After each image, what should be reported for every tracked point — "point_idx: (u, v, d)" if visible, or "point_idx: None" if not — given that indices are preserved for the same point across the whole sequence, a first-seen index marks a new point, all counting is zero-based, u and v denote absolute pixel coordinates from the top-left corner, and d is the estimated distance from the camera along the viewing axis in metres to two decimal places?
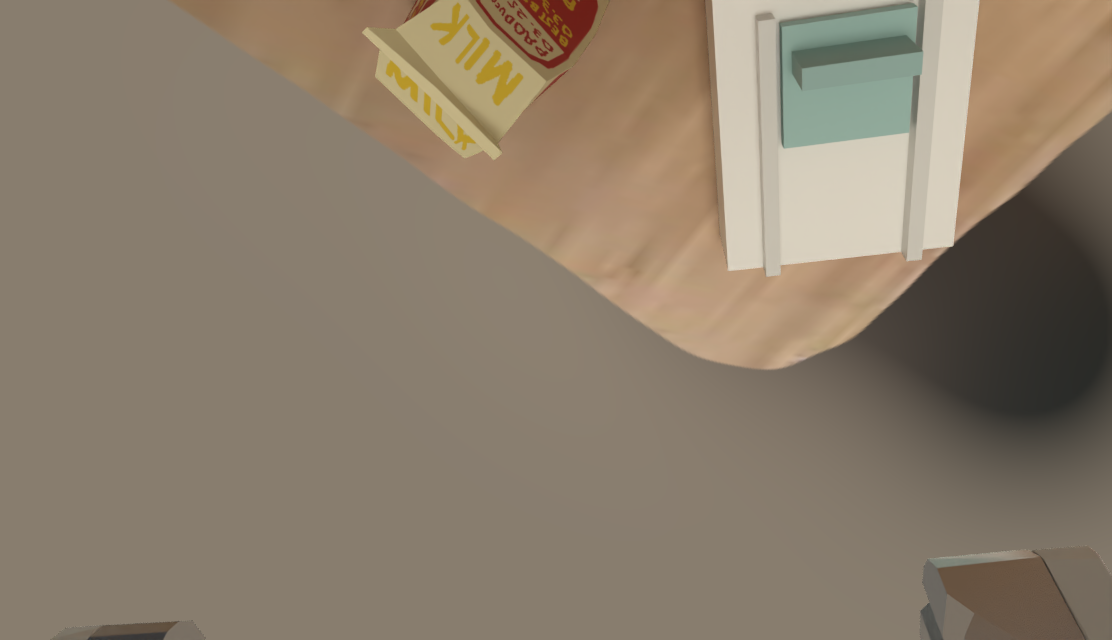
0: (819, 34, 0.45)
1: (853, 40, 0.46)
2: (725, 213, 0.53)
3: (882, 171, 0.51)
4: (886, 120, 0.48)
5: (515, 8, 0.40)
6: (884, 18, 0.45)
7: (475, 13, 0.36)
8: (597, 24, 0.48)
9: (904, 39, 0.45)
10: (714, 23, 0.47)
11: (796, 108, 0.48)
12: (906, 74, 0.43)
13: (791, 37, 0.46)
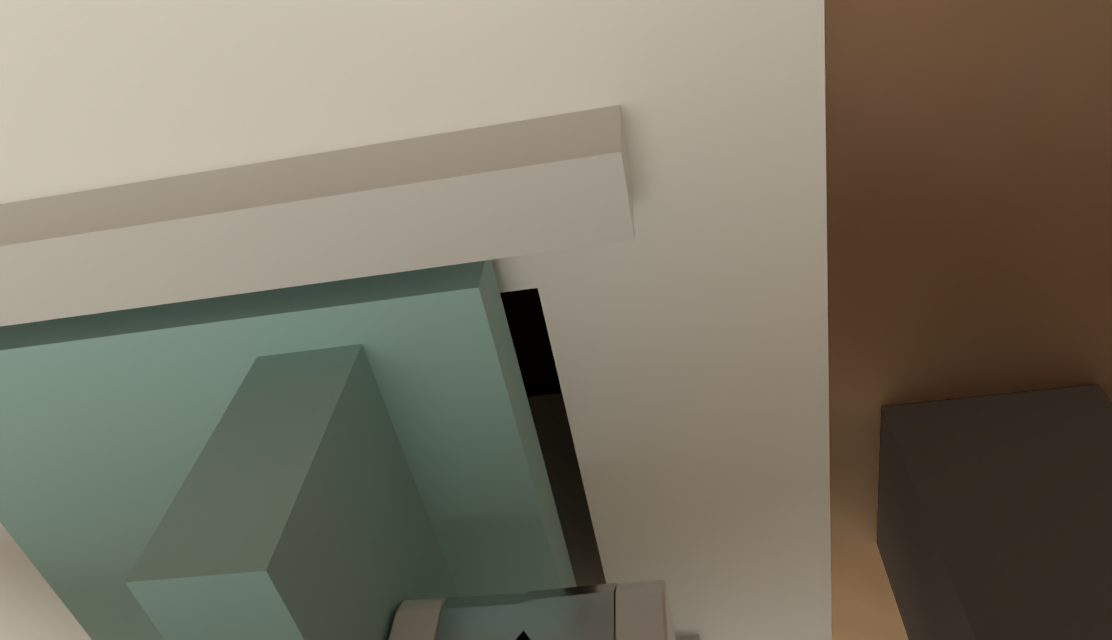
0: (458, 438, 0.10)
1: (449, 551, 0.11)
2: None
3: (64, 622, 0.14)
4: None
5: None
6: None
7: None
8: None
9: None
10: None
11: (95, 394, 0.10)
12: None
13: (430, 335, 0.09)
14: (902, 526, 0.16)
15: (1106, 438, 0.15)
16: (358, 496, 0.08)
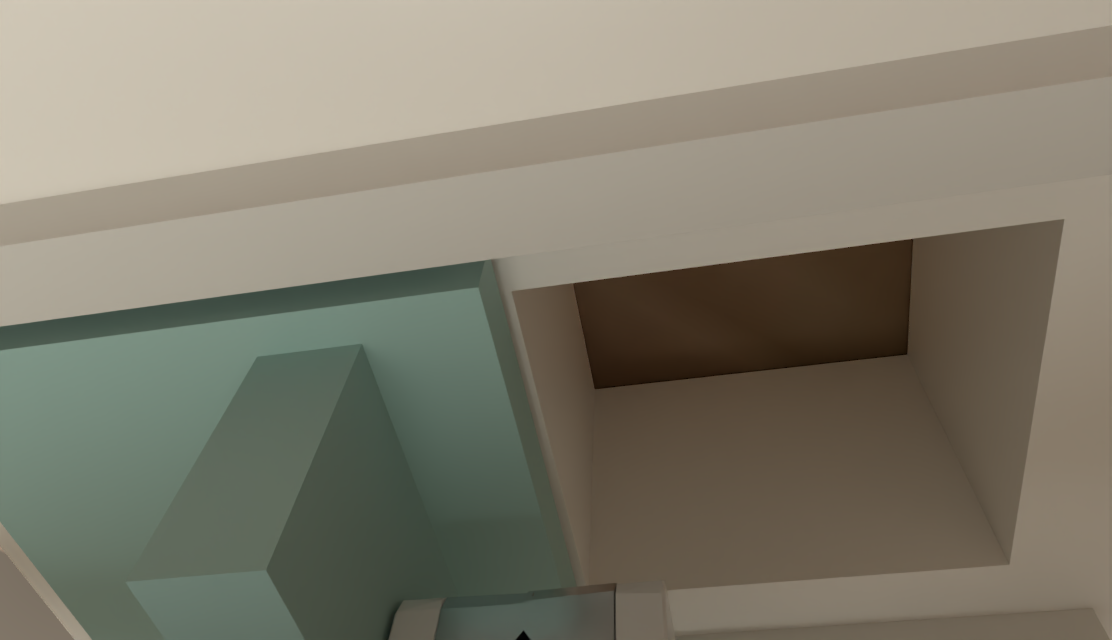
0: (458, 438, 0.10)
1: (449, 551, 0.11)
2: None
3: None
4: None
5: None
6: None
7: None
8: None
9: None
10: None
11: (95, 394, 0.10)
12: None
13: (430, 335, 0.09)
14: None
15: None
16: (358, 496, 0.08)
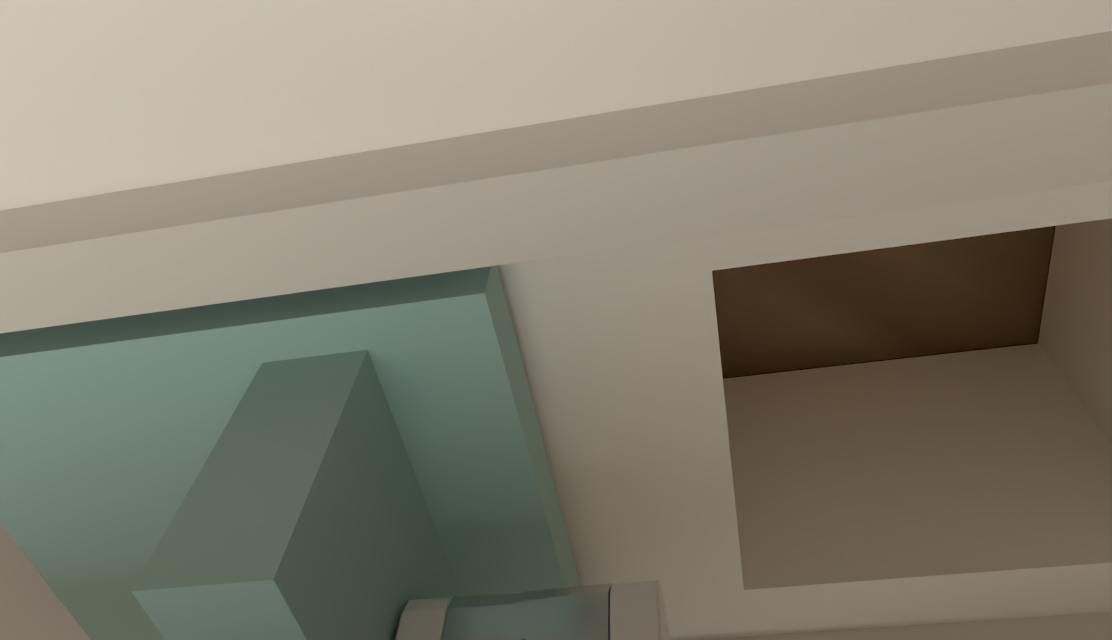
0: (464, 444, 0.10)
1: (454, 556, 0.11)
2: None
3: None
4: None
5: None
6: None
7: None
8: None
9: None
10: None
11: (99, 400, 0.10)
12: None
13: (435, 340, 0.09)
14: None
15: None
16: (364, 503, 0.08)
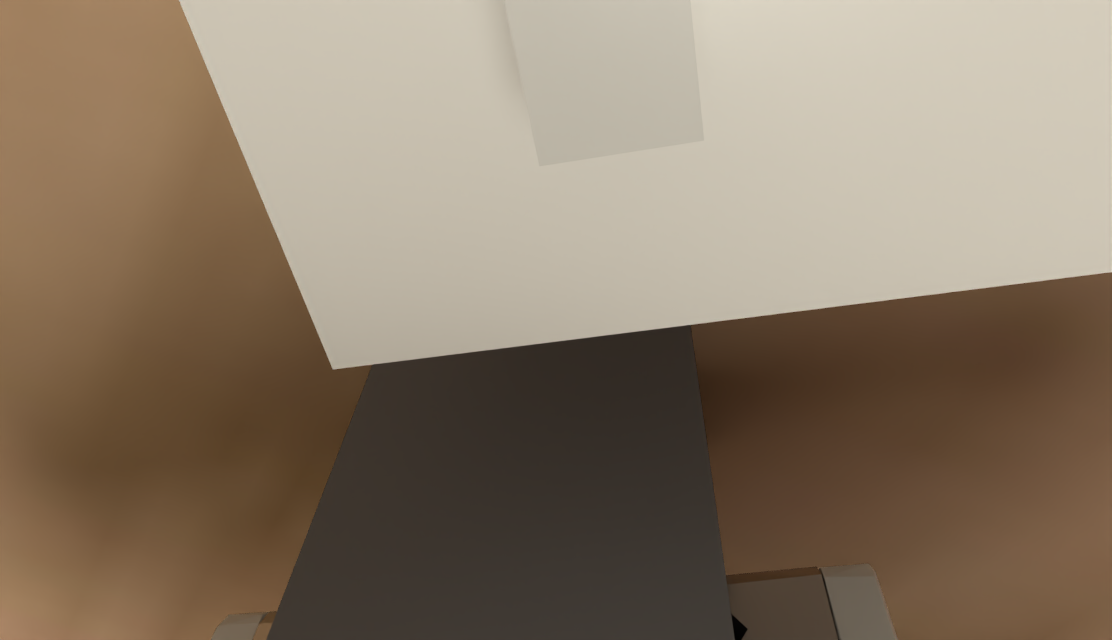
0: None
1: None
2: None
3: None
4: None
5: None
6: None
7: None
8: None
9: None
10: None
11: None
12: None
13: None
14: None
15: None
16: None
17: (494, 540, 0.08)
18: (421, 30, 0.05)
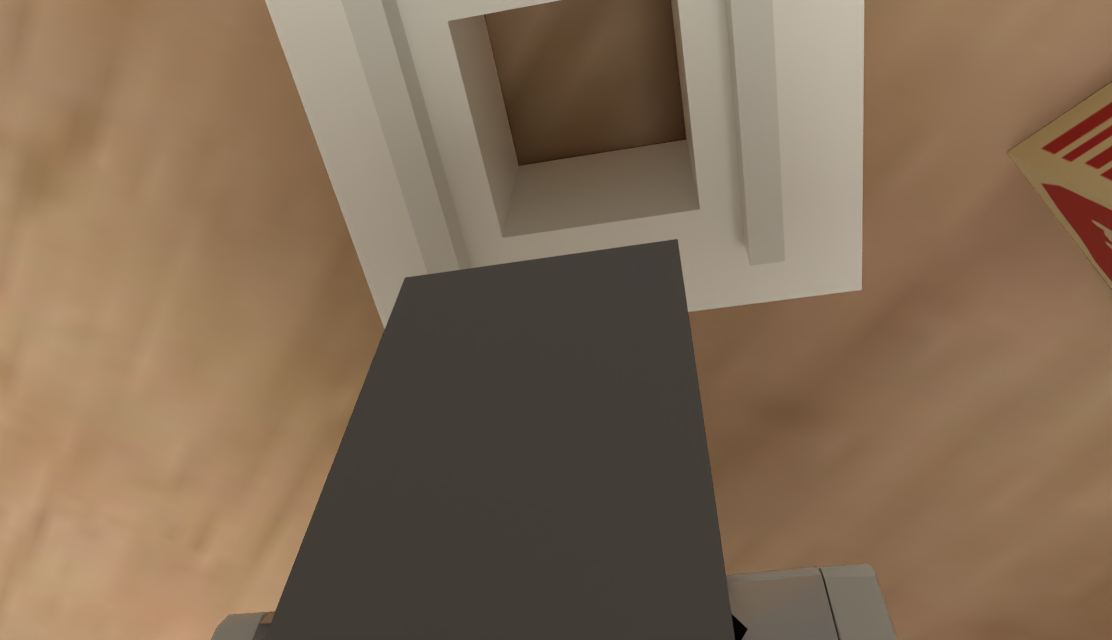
0: None
1: None
2: None
3: None
4: None
5: None
6: None
7: None
8: (1095, 198, 0.23)
9: None
10: (860, 224, 0.23)
11: None
12: None
13: None
14: (561, 321, 0.11)
15: None
16: None
17: (494, 540, 0.08)
18: (415, 272, 0.24)
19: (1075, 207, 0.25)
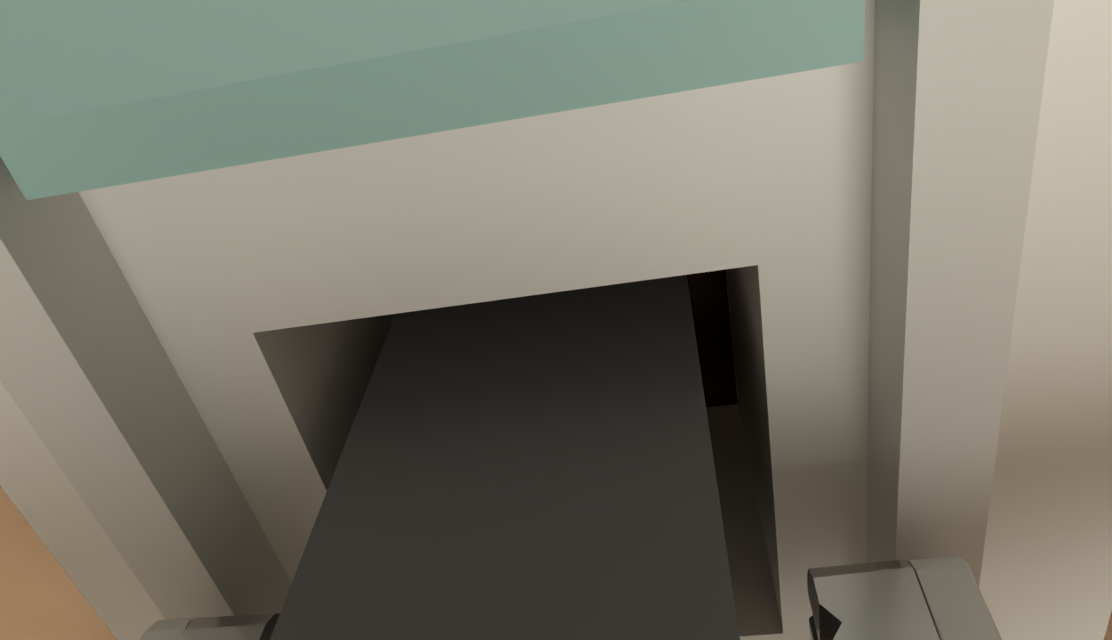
0: None
1: None
2: None
3: None
4: None
5: None
6: (186, 130, 0.07)
7: None
8: None
9: None
10: None
11: None
12: None
13: None
14: None
15: None
16: None
17: (517, 403, 0.09)
18: None
19: None
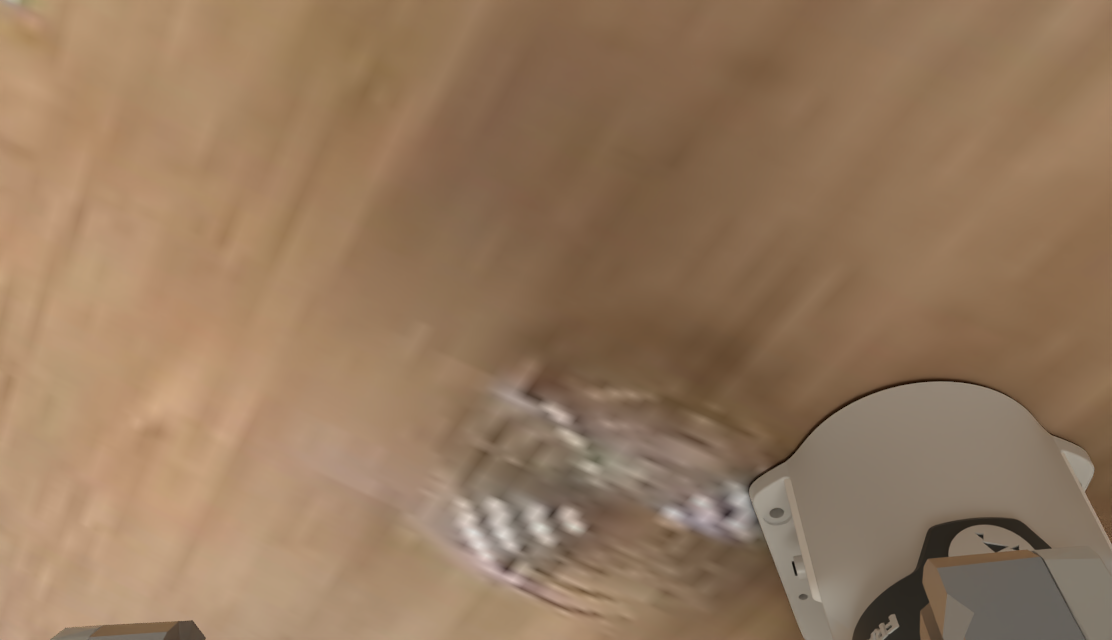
0: None
1: None
2: None
3: None
4: None
5: None
6: None
7: None
8: None
9: None
10: None
11: None
12: None
13: None
14: None
15: None
16: None
17: None
18: None
19: None
